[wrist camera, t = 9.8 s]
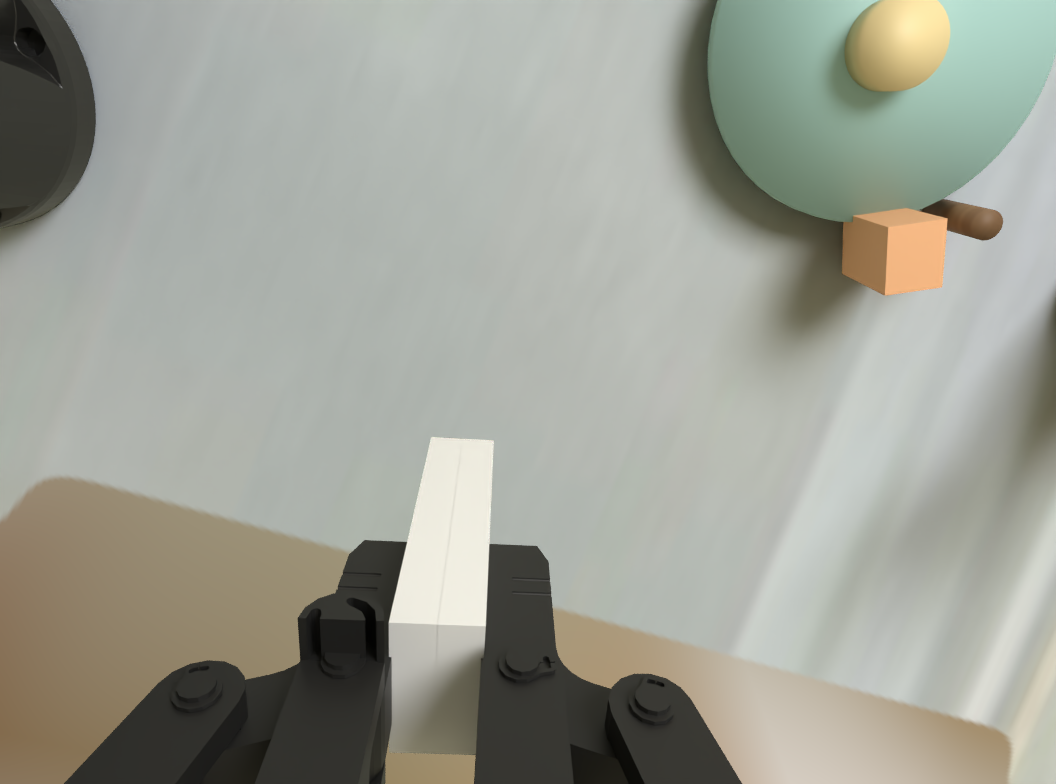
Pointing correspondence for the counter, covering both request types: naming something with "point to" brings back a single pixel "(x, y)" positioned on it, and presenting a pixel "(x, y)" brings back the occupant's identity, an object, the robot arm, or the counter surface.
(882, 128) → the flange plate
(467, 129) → the counter surface
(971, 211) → the dowel
